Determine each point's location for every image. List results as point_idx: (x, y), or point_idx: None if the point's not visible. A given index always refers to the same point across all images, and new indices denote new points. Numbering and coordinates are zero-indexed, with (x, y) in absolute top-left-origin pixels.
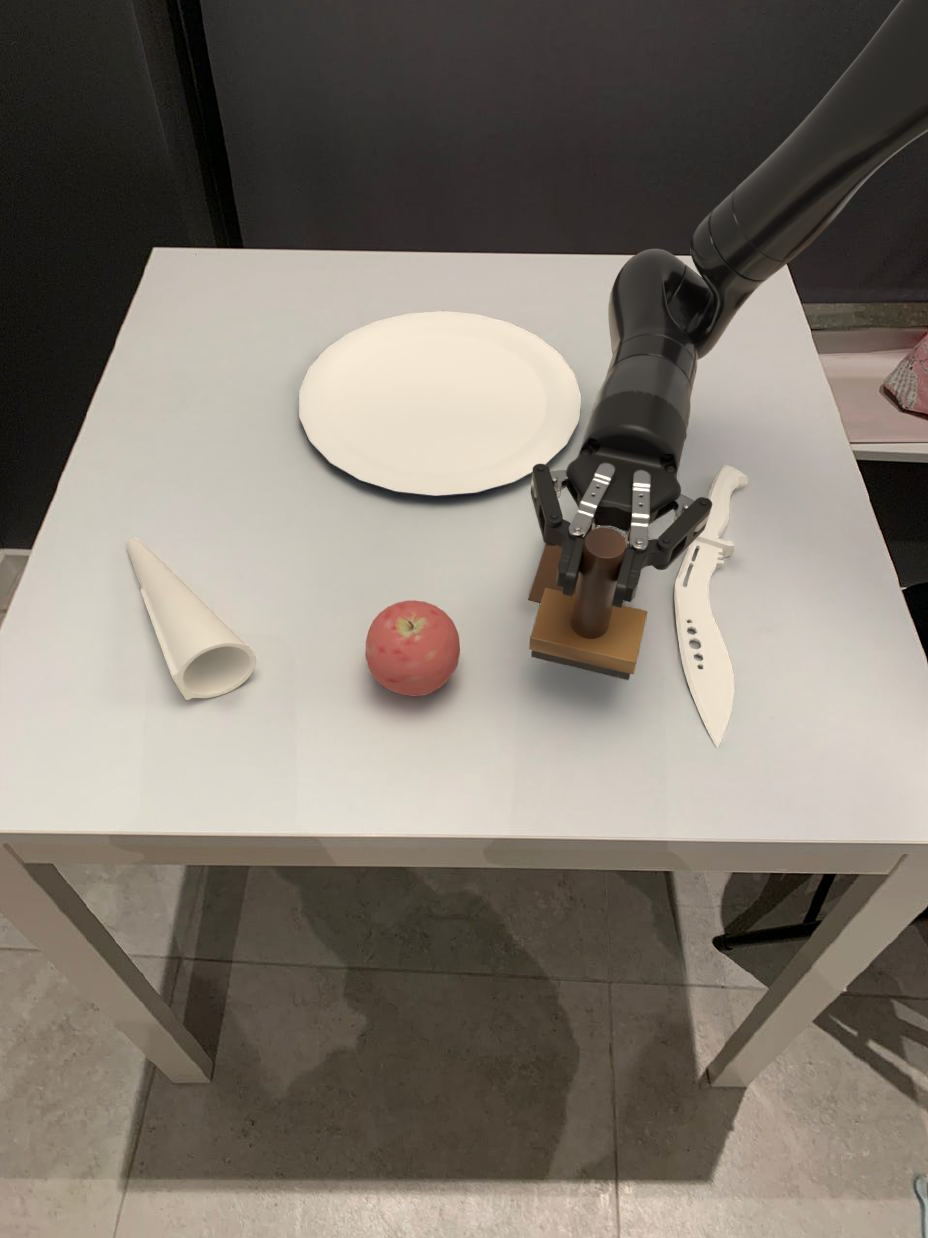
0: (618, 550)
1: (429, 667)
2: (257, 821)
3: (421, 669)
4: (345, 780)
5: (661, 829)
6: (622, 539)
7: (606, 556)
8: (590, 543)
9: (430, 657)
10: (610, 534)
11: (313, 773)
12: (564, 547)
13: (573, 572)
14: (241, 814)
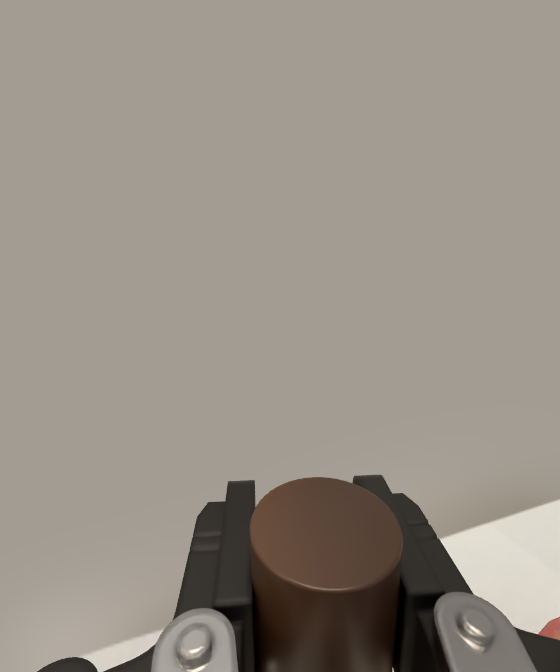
0: (270, 505)
1: (542, 634)
2: (518, 518)
3: (548, 625)
4: (499, 574)
5: (139, 640)
6: (268, 549)
7: (300, 482)
8: (367, 506)
9: (556, 637)
10: (321, 559)
11: (533, 570)
12: (453, 568)
13: (366, 478)
14: (535, 518)
